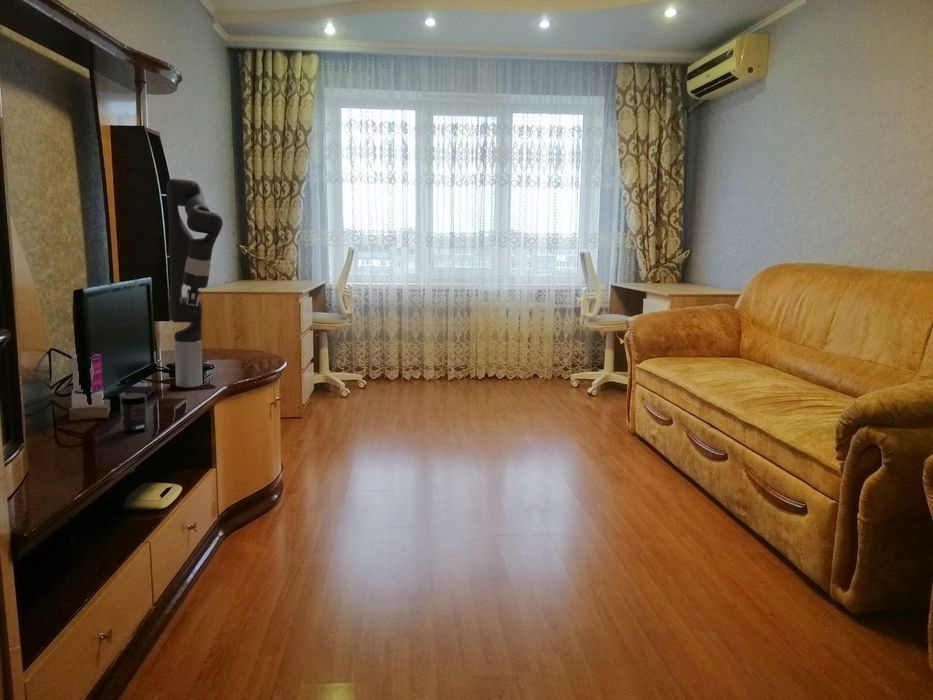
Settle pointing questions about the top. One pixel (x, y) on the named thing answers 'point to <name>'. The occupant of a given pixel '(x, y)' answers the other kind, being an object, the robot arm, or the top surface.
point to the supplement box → (94, 371)
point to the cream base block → (90, 411)
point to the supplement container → (133, 412)
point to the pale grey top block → (81, 399)
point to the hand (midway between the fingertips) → (189, 318)
